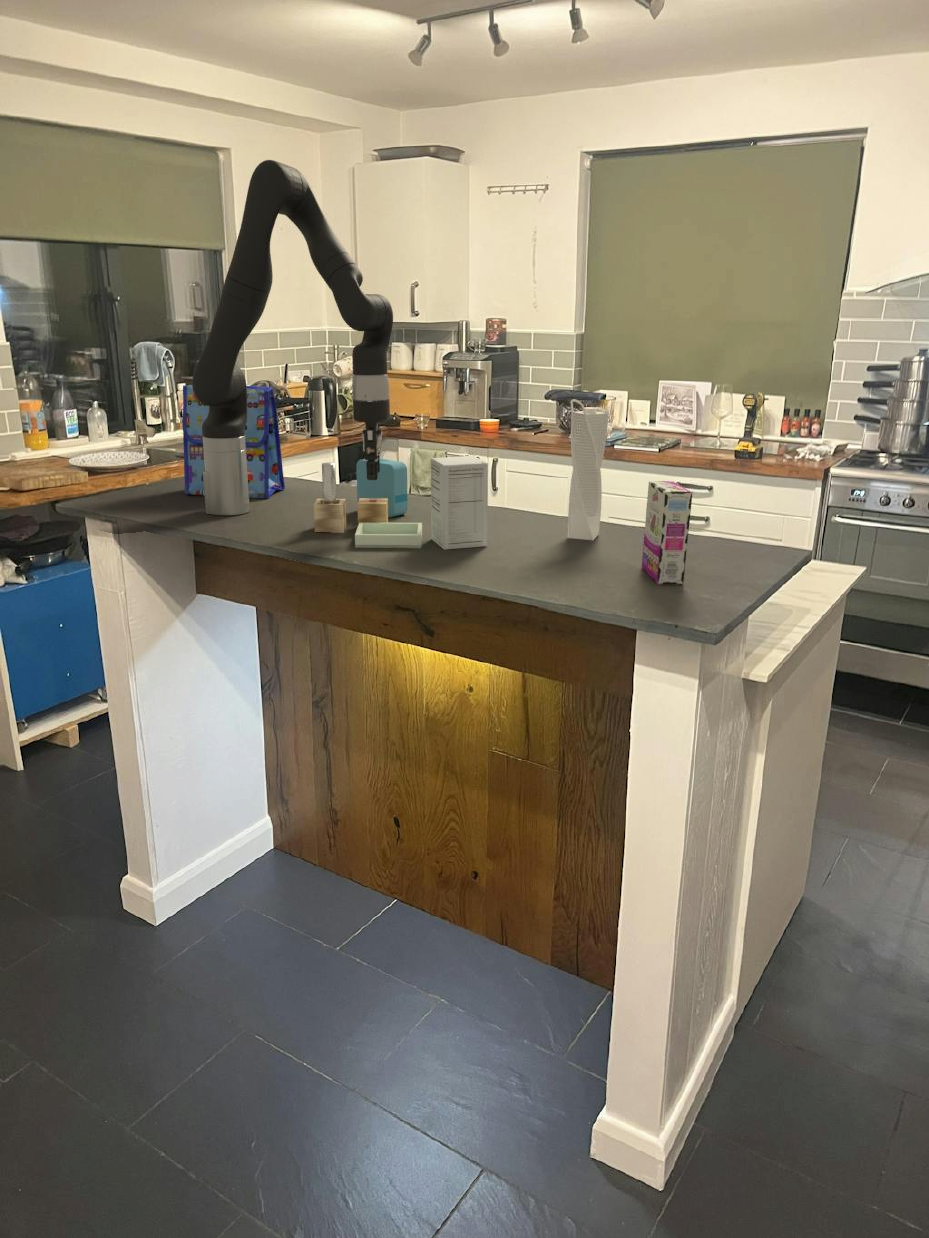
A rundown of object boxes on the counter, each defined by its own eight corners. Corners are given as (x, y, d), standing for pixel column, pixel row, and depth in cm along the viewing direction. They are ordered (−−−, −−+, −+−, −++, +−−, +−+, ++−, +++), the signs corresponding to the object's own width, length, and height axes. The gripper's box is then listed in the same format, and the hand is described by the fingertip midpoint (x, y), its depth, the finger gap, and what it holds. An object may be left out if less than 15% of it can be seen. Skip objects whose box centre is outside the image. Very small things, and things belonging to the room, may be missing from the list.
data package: (408, 515, 213) (407, 462, 209) (394, 518, 210) (393, 465, 206) (370, 507, 220) (369, 456, 217) (356, 510, 217) (355, 459, 213)
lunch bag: (184, 496, 231) (173, 376, 222) (206, 486, 244) (197, 372, 234) (269, 499, 228) (262, 378, 219) (286, 489, 241) (280, 373, 232)
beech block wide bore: (314, 532, 196) (313, 504, 194) (318, 526, 202) (317, 498, 200) (343, 533, 196) (342, 504, 194) (346, 526, 202) (345, 499, 200)
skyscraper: (559, 538, 194) (565, 400, 185) (568, 530, 200) (574, 397, 191) (597, 542, 191) (605, 402, 182) (604, 534, 198) (612, 399, 189)
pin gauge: (323, 530, 198) (321, 464, 193) (324, 527, 200) (322, 462, 196) (336, 531, 198) (334, 464, 193) (338, 528, 200) (336, 462, 196)
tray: (355, 547, 184) (354, 535, 183) (359, 534, 195) (359, 522, 194) (421, 548, 185) (421, 535, 184) (422, 535, 195) (422, 522, 194)
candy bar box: (685, 585, 162) (694, 492, 157) (657, 585, 162) (664, 492, 157) (667, 568, 173) (674, 480, 168) (640, 568, 173) (647, 480, 167)
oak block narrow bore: (358, 531, 197) (357, 503, 195) (360, 525, 203) (359, 498, 201) (386, 532, 197) (386, 504, 195) (388, 525, 203) (387, 498, 201)
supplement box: (473, 536, 195) (474, 455, 189) (488, 546, 186) (490, 462, 181) (429, 539, 192) (429, 457, 186) (442, 550, 184) (443, 464, 178)
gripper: (355, 394, 198) (358, 470, 203) (349, 400, 184) (352, 482, 190) (390, 394, 198) (392, 470, 203) (387, 400, 185) (390, 482, 190)
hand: (373, 476), depth 196 cm, fingers open, 8 cm apart
